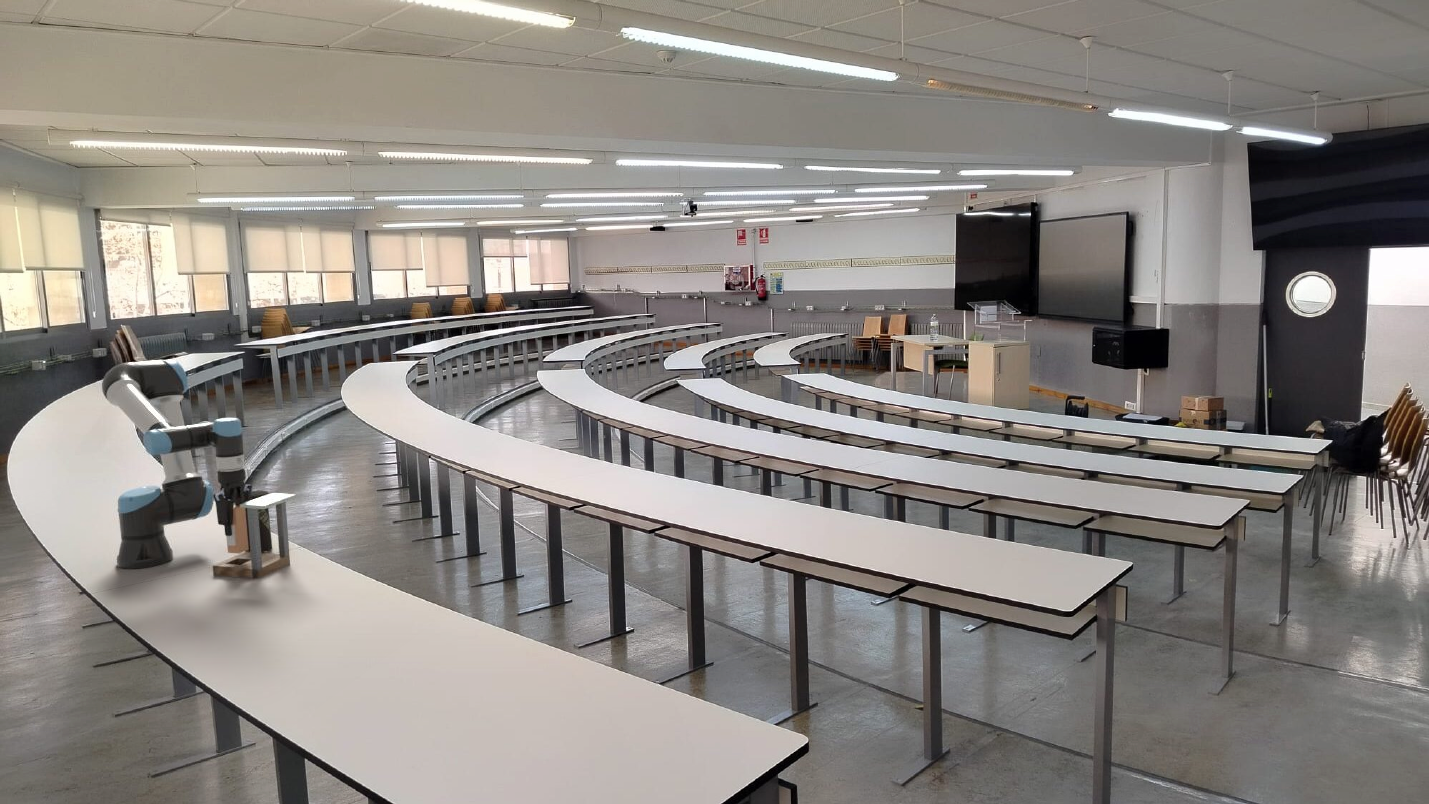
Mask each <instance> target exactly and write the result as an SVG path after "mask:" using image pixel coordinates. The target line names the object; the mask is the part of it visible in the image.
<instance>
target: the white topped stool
mask: <svg viewBox="0 0 1429 804" xmlns="http://www.w3.org/2000/svg"><path fill="white" fill-rule="evenodd" d="M296 498H297V494H294V493H293V494H292V493H282V492H281V493H278V492H272V493H271V492H270V493H269V494H268V495H265V496H262V497H259V498H256V499H254V500H251V501H248V502H245V503H242V504H240V508H247V513H248V525H249V538H250V551H251V563H252V569H253V570H254V569H257V571H258V569H262V556H261V543H260V530H259V517H258V509H267V508H268V509H269V508H271V507H272V508H273V507H274V506H275V512H276V513H275V514H276V527H277V528H276V529H277V539H278V540H277V541H278V553H279V555H280V557H286V556H290V543H289V542H290V541H289V531H288V516H287V502H288V501H291V500H293V499H296ZM254 571H255V570H254ZM257 571H256V573H254V574H255V575H256V574H257ZM258 573H259V572H258ZM252 576H253V575H252ZM260 576H261V575H260ZM257 578H258V577H256V578H254V579H253V580H259V578H258V579H257Z"/></svg>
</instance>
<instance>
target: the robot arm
mask: <svg viewBox="0 0 1429 804" xmlns="http://www.w3.org/2000/svg"><path fill="white" fill-rule="evenodd" d="M188 383H189V382H188V377H187V374H186V371H185V369H184V368H183V366H182V364H180V363H179V362H178V361H176V360H173V359H156V360H145V361H132V362H130V361H129V362H122V363H120V364H117V365H115V366H113V367H111V369H110V370H108V371H107V372H106V373H105V375H104V376H103V379H102V382H101V392H102V393H103V396H104V397H105V399H106V400H107V402H109V403H110V404H112V405H113V406H116V407H118V408H119V409H120V410H121V411H122V412H123V413H124V414H125V415H126V416H127V418H129V420H130V421H131V422H132V423H133V424H134V425H135V426H136V427H137V429H138V430H139V431H140V432H141V433H142V434H143V437H142V441H143V446H144V448H145V451H146V452H147V453H148V455H151V456H158V455H160V458H161V459H160V460H161V464H162V467H163V472H164V477H165V479H164V480H163V481H162V483H161V487H162V488H160V486H158V485H148V486H140V487H137V488H136V487H135V488H134V489H130V490H128V491H125V492H124V493H122V494H121V495H120V496H119V497H118V499H117V512H118V522H119V528H120V539H121V542H120V544H119V545H120V546H119V552H118V555H117V557H116V566H117V567H118V568H121V569H129V570H130V569H132V570H133V569H143V568H150V567H154V566H159V565H162V564H165V563H168V562H170V561H171V560H173V558H174V552H173V549H172V548H171V545H170V543H169V541H168V539H167V537H166V535H165V526H167V525H173V524H177V523H181V522H187V521H192V520H197V519H199V518H203V517H207V515H210V513H211V511H212V509H213V506H214V503H215V509H216V517H217V519H216V520H217V524H218V525H219V526H220V525H221V526H224V535H225V537H226V538H225V539H226V545H229V546H236V534H235V525H232V522H233V507H234V505H237V506H240V504H242V503H245V502H248V501H251V491H253V490H252V488H253V485H252V484H246V483H245V481H246V479H247V477H246V476H247V475H246V469H245V468H244V467H245V465H246V464H245V456H244V454H245V453H244V440H243V439H244V438H243V427H242V421H241V420H240V418H237V417H222V418H218V419H215V420H214V421H211V420H209V421H201V422H199V423H196V424H190V425H189V424H188V425H185V421H184V416H183V412H182V407H181V401H182V400H183V399H184V393H186V392H187V390H188V388H189V385H188ZM206 448H214V450H215V462H216V469H217V482H218V483H219V484H220V488H219V492H217V493H214V491H213V490H214V489H213V486H211V483H210V481H206V480H203V475H201V474H199V473H197V472H196V469H195V464H194V459H193V455H192V452H191V451H192V450H193V451H194V450H200V449H206ZM245 512H246V524H247V520H248V513H247V508H245ZM247 528H248V526H247Z"/></svg>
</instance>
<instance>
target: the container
mask: <svg viewBox="0 0 1429 804" xmlns="http://www.w3.org/2000/svg"><path fill="white" fill-rule="evenodd" d="M268 494H270V492H269V491H267V490H262V489H261V490H257V489H256V490H251V500H254V499H256V498H259V497H262V496H265V495H268ZM269 511H270V510H269V508H267V509H258V517H259V530H260V543H261V553H267V552H270V551H271V550H273V541H272V532H271V531H272V530H271V521H270V512H269ZM247 526H248V528H247V536H248V548H249V550H246V551H244V552H251V551H250V538H249V525H248V520H247Z"/></svg>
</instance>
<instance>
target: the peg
mask: <svg viewBox="0 0 1429 804" xmlns="http://www.w3.org/2000/svg"><path fill="white" fill-rule="evenodd" d="M232 525H235V534H236V546H229V545H227V544H226V545H227V553H228V554H241V553H244V552H245V551H246V550H249V548H248V536H247V524H246V512H245V508H240V506H237V505H235V504H234V507H233V522H232Z"/></svg>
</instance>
